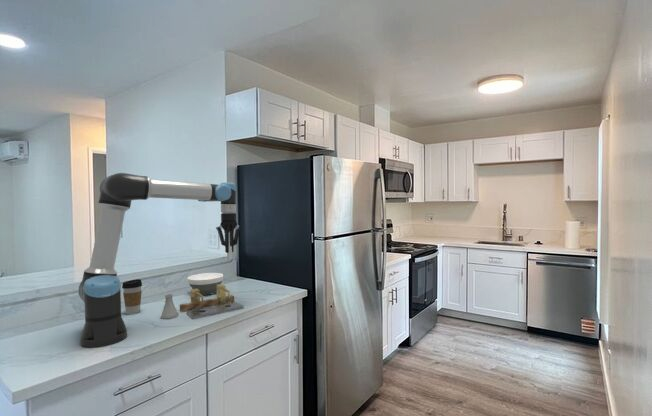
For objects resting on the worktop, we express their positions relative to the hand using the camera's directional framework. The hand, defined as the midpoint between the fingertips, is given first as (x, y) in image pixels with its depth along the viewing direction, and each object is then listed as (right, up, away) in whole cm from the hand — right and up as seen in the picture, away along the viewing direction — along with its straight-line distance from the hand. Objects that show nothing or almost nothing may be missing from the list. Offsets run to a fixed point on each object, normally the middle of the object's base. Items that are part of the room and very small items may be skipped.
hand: (229, 258), depth 181 cm
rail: (-6, -22, -9) cm, 25 cm away
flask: (-21, -23, -21) cm, 38 cm away
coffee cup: (-42, -24, -13) cm, 50 cm away
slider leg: (-1, -22, -5) cm, 22 cm away
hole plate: (-3, -23, -15) cm, 27 cm away
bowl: (-19, -23, +21) cm, 37 cm away
